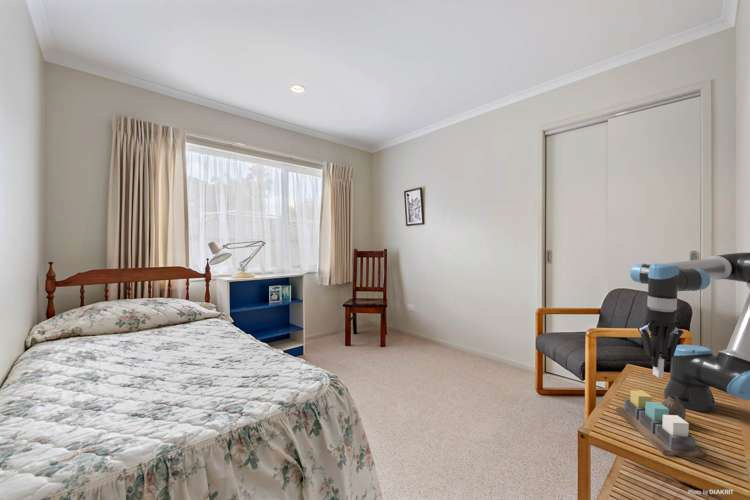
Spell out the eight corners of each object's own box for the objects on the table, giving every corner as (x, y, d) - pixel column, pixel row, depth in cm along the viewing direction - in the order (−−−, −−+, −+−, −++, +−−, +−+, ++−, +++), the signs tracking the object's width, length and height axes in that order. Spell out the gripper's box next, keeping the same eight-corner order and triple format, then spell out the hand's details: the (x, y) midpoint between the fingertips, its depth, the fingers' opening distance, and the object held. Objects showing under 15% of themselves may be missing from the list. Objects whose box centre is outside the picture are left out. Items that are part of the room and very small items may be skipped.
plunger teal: (658, 415, 114) (659, 402, 113) (668, 423, 109) (668, 409, 109) (645, 414, 114) (645, 401, 114) (654, 422, 110) (654, 408, 109)
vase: (687, 428, 114) (689, 404, 113) (662, 422, 117) (663, 399, 117) (682, 418, 120) (683, 395, 119) (658, 412, 123) (659, 390, 123)
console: (649, 412, 123) (650, 399, 123) (705, 457, 99) (706, 440, 99) (616, 411, 125) (616, 397, 124) (663, 454, 101) (663, 438, 100)
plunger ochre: (642, 403, 121) (643, 390, 121) (651, 409, 117) (651, 396, 117) (630, 402, 122) (630, 390, 122) (638, 409, 118) (638, 396, 117)
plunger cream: (676, 429, 106) (677, 415, 105) (688, 438, 101) (688, 423, 101) (662, 428, 106) (662, 414, 106) (672, 437, 102) (673, 422, 101)
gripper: (673, 306, 112) (670, 371, 113) (633, 305, 113) (630, 370, 115) (692, 312, 104) (687, 381, 106) (648, 311, 106) (644, 379, 108)
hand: (657, 375), depth 110 cm, fingers closed
